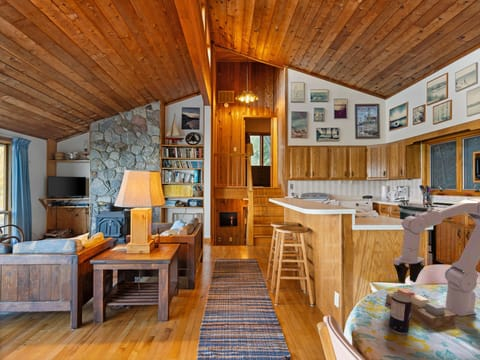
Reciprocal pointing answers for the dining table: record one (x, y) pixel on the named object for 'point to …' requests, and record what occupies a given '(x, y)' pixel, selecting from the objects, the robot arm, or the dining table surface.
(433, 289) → the dining table surface
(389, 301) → the brown slotted tray
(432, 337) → the dining table surface
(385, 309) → the dining table surface
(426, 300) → the ivory key
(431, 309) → the grey block
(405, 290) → the red key
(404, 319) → the beverage can
